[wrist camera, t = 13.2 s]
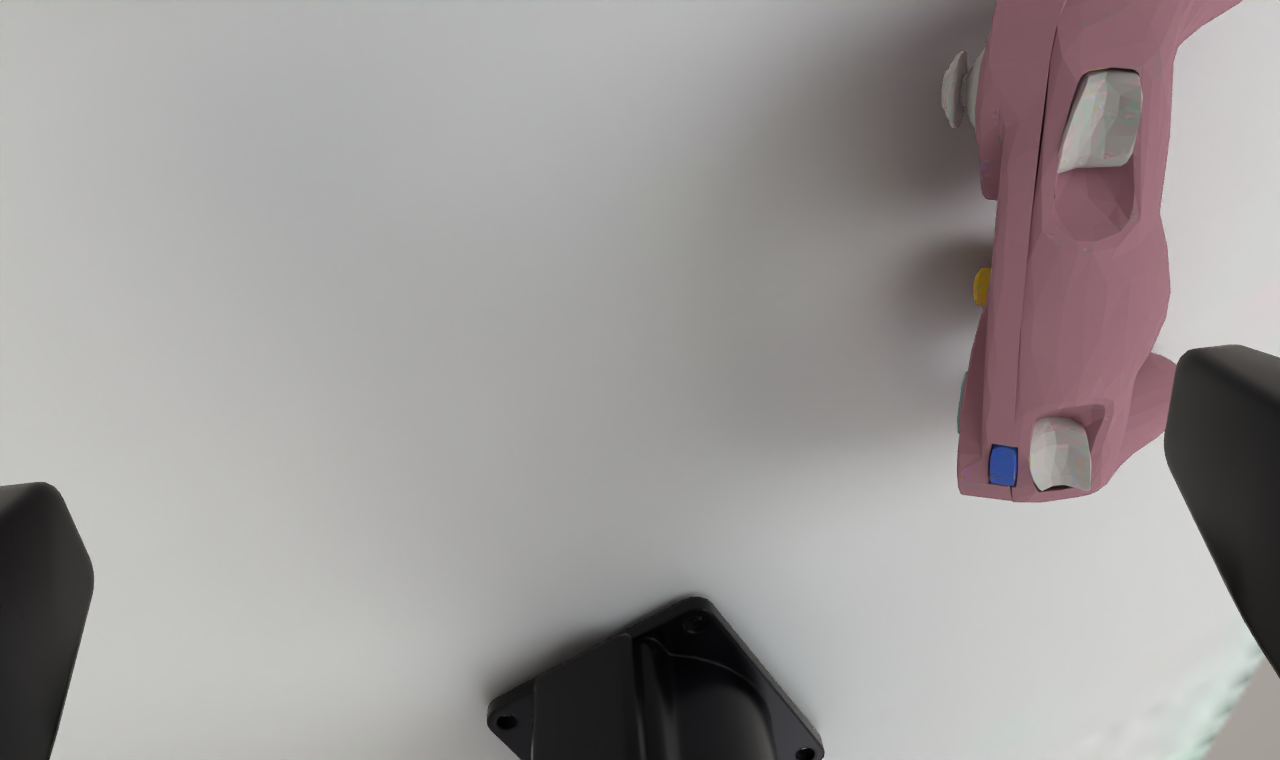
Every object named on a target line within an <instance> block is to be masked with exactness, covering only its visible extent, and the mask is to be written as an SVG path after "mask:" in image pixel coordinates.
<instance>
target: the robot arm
mask: <svg viewBox="0 0 1280 760" xmlns="http://www.w3.org/2000/svg"><path fill="white" fill-rule="evenodd" d="M1164 450H1165V457H1166V460H1167V464H1168V466H1169V469H1170V471H1171V473H1172V475H1173V477H1174V479H1175V482H1176V484H1177V486H1178V488H1179V490H1180V492H1181V494H1182V496H1183V498H1184V500H1185V502H1186V504H1187V506H1188V508H1189V511H1190V513H1191V515H1192V517H1193V519H1194V521H1195V523H1196V525H1197V527H1198V529H1199V531H1200V533H1201V535H1202V537H1203V539H1204V542H1205V544H1206V546H1207V548H1208V550H1209V552H1210V554H1211V556H1212V558H1213V560H1214V562H1215V564H1216V566H1217V568H1218V571H1219V573H1220V575H1221V577H1222V579H1223V581H1224V583H1225V585H1226V587H1227V589H1228V591H1229V593H1230V595H1231V597H1232V599H1233V601H1234V603H1235V605H1236V607H1237V609H1238V611H1239V612H1240V614H1241V616H1242V618H1243V620H1244V622H1245V623H1246V625H1247V627H1248V628H1249V630H1250V632H1251V633H1252V635H1253V637H1254V638H1255V640H1256V642H1257V643H1258V645H1259V647H1260V648H1261V650H1262V651H1263V653H1264V655H1265V656H1266V658H1267V659H1268V661H1269V662H1270V664H1271V665H1272V667H1273V669H1274V670H1275V672H1276V673H1277V675H1278V677H1279V678H1280V358H1279V357H1276V356H1273V355H1270V354H1267V353H1264V352H1261V351H1258V350H1254V349H1251V348H1248V347H1245V346H1242V345H1222V346H1214V347H1205V348H1197V349H1192V350H1188V351H1187V352H1186V353H1185V354H1184V355H1182V356H1181V357H1180V359H1179V361H1178V363H1177V366H1176V370H1175V374H1174V380H1173V386H1172V392H1171V398H1170V404H1169V410H1168V416H1167V422H1166V428H1165V434H1164ZM93 589H94V572H93V567H92V563H91V560H90V557H89V555H88V553H87V551H86V548H85V546H84V544H83V542H82V539H81V537H80V535H79V533H78V530H77V528H76V526H75V524H74V521H73V519H72V517H71V515H70V512H69V510H68V508H67V506H66V504H65V501H64V499H63V497H62V496H61V494H60V492H59V491H58V490H57V489H56V488H55V487H54V486H52V485H50V484H48V483H46V482H33V483H24V484H16V485H7V486H0V760H49V759H50V756H51V752H52V749H53V746H54V742H55V739H56V735H57V732H58V728H59V724H60V720H61V717H62V713H63V709H64V705H65V701H66V697H67V693H68V689H69V685H70V681H71V677H72V673H73V669H74V665H75V661H76V658H77V654H78V650H79V646H80V642H81V638H82V634H83V630H84V626H85V622H86V618H87V614H88V610H89V606H90V602H91V598H92V594H93ZM694 616H700V617H702V618H701V619H700V620H696V621H691V620H688V619H689V618H690V617H694ZM502 715H512V716H511V717H504V716H502ZM487 725H488V727H489V728H490V730H491V731H492V732H493V733H494V734H495V735H496V736H497V737H498V738H499V739H500V740H501V741H502V742H503V743H505V744H506V745H507V746H508V747H509V748H510V749H511V750H512V751H513V752H514V753H515V754H516V755H517V756H518V757H519V758H520V759H521V760H822V758H823V757H824V748H823V744H822V740H821V737H820V735H819V734H818V732H817V731H816V730H815V729H814V728H813V726H812V725H811V724H810V723H809V721H808V720H807V719H806V718H805V717H804V715H803V714H802V713H801V712H800V710H799V709H798V708H797V707H796V705H795V704H794V703H793V702H792V701H791V699H790V698H789V697H788V696H787V694H786V693H785V692H784V691H783V690H782V688H781V687H780V686H779V685H778V683H777V682H776V681H775V680H774V679H773V677H772V676H771V675H770V674H769V672H768V671H767V670H766V669H765V668H764V666H763V665H762V664H761V663H760V661H759V660H758V659H757V658H756V656H755V655H754V654H753V653H752V652H751V650H750V649H749V648H748V647H747V645H746V644H745V643H744V642H743V641H742V639H741V638H740V637H739V636H738V634H737V633H736V632H735V631H734V630H733V628H732V627H731V626H730V625H729V623H728V622H727V621H726V620H725V619H724V617H723V616H722V615H721V614H720V612H719V611H718V610H717V609H716V608H715V606H714V605H713V604H712V603H711V602H710V601H708V600H707V599H705V598H701V597H690V598H687V599H684V600H682V601H680V602H678V603H676V604H674V605H673V606H671V607H669V608H667V609H665V610H663V611H661V612H659V613H657V614H655V615H653V616H652V617H650V618H648V619H646V620H644V621H642V622H640V623H638V624H636V625H634V626H632V627H631V628H629V629H627V630H625V631H623V632H621V633H619V634H617V635H615V636H613V637H612V638H610V639H608V640H606V641H604V642H602V643H600V644H598V645H596V646H594V647H592V648H591V649H589V650H587V651H585V652H583V653H581V654H579V655H577V656H575V657H573V658H572V659H570V660H568V661H566V662H564V663H562V664H560V665H558V666H556V667H554V668H552V669H551V670H549V671H547V672H545V673H543V674H541V675H539V676H537V677H535V678H533V679H531V680H530V681H528V682H526V683H524V684H522V685H520V686H518V687H516V688H514V689H512V690H511V691H509V692H507V693H505V694H503V695H501V696H499V697H497V698H496V699H494V700H493V701H492V702H491V703H490V705H489V707H488V714H487ZM803 748H806V749H803Z"/></svg>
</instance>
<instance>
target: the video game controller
mask: <svg viewBox="0 0 1280 760" xmlns="http://www.w3.org/2000/svg"><path fill="white" fill-rule="evenodd" d="M1241 1H1242V0H997V1H996V5H995V9H994V13H993V18H992V25H991V32H990V36H989V38H988V40H987V42H986V46H985V49H984V50H983V51H982V52H981V54H980V55H979V56H978V57H977V59H976V61H975V63H974V64H973V66H972V68H971V70H970V71H969V73H968V68H967V56H966V52H964V51H963V50H961V51H960V52H959V53H958V54H957V55H956V56H955V58H954V60H953V61H952V62H951V63H950V67H949V69H948V70H946V72H945V74H944V79H943V84H942V97H941V102H942V107H943V109H944V110H945V113H946V117H947V118H948V119H949V122H950V125H951V127H952V128H958V127H959V125H960V123H961V120H962V117H963V112H964V107H966V109H967V112H968V115H969V118H970V121H971V124H972V125H973V127H974V128H975V135H976V141H977V144H978V147H979V149H980V178H981V189H982V195H983V196H984V197H985V198H986V199H989V200H998V201H997V212H996V222H995V232H994V243H993V253H992V266H991V268H981V269H980V270H979V271H978V273H977V274H976V277H975V281H974V288H973V294H974V300H975V302H976V303H977V305H981V306H984V309H983V312H982V315H981V318H980V321H979V325H978V328H977V332H976V336H975V339H974V343H973V347H972V350H971V355H970V361H969V368H968V371H967V372H965V376H964V379H963V382H962V386H961V393H960V401H959V408H958V416H957V426H958V433H959V434H960V435H959V444H958V456H957V478H958V488H959V491H960V493H961V494H962V495H969V496H977V497H985V498H993V499H1001V500H1009V501H1013V502H1047V501H1054V500H1061V499H1067V498H1074V497H1080V496H1084V495H1088V494H1092V493H1094V492H1096V491H1098V490H1099V489H1101V488H1102V487H1103V486H1104V485H1106V484H1107V483H1108V481H1109V480H1110V479H1111V477H1112V476H1113V475H1114V473H1115V472H1116V471H1117V469H1118V468H1119V467H1120V465H1122V464H1123V463H1124V462H1125V461H1126V460H1127V459H1128V458H1129V457H1130V456H1131V455H1132V454H1133V453H1135V452H1136V451H1138V450H1139V449H1141V448H1142V447H1144V446H1145V445H1147V444H1148V443H1149V442H1151V441H1152V440H1154V439H1155V438H1157V437H1158V436H1159V435H1160V434H1161V433H1162V432H1164V431H1165V428H1166V422H1167V416H1168V410H1169V404H1170V398H1171V392H1172V386H1173V380H1174V374H1175V370H1176V366H1177V365H1176V364H1175V363H1173V362H1172V361H1171V360H1169V359H1167V358H1165V357H1163V356H1161V355H1158V354H1154V353H1150V352H1151V350H1152V348H1153V346H1154V343H1155V341H1156V339H1157V336H1158V334H1159V332H1160V330H1161V327H1162V325H1163V323H1164V321H1165V318H1166V313H1167V308H1168V303H1169V297H1170V276H1169V263H1168V250H1167V243H1166V239H1165V234H1164V230H1163V225H1162V221H1161V217H1160V206H1161V198H1162V191H1163V183H1164V176H1165V168H1166V161H1167V154H1168V146H1169V139H1170V123H1171V103H1172V83H1173V62H1174V59H1175V55H1176V51H1177V48H1178V47H1179V45H1180V44H1181V43H1182V42H1183V41H1184V40H1185V39H1186V38H1188V37H1189V36H1190V35H1191V34H1193V33H1194V32H1195V31H1196V30H1197V29H1199V28H1200V27H1201V26H1203V25H1204V24H1206V23H1208V22H1209V21H1211V20H1213V19H1214V18H1216V17H1217V16H1219V15H1221V14H1222V13H1224V12H1226V11H1227V10H1229V9H1230V8H1232V7H1234V6H1235V5H1237V4H1239V3H1240V2H1241Z"/></svg>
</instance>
